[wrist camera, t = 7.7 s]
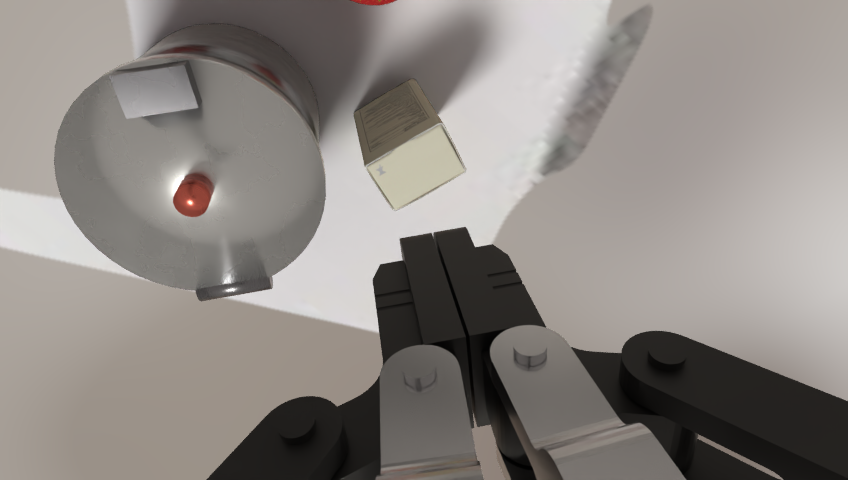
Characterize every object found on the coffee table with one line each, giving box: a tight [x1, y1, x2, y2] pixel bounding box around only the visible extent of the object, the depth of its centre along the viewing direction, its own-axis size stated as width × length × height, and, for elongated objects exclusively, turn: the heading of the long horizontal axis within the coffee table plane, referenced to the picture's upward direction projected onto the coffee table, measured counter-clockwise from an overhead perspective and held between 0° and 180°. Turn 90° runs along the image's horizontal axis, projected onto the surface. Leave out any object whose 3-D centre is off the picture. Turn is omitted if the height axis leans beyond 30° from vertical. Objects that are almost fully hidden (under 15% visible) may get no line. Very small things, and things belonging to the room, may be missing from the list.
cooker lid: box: [54, 53, 326, 301], centre depth 35 cm, size 17×16×3 cm
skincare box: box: [354, 79, 466, 211], centre depth 44 cm, size 6×4×12 cm
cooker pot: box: [140, 23, 319, 145], centre depth 42 cm, size 15×15×12 cm
